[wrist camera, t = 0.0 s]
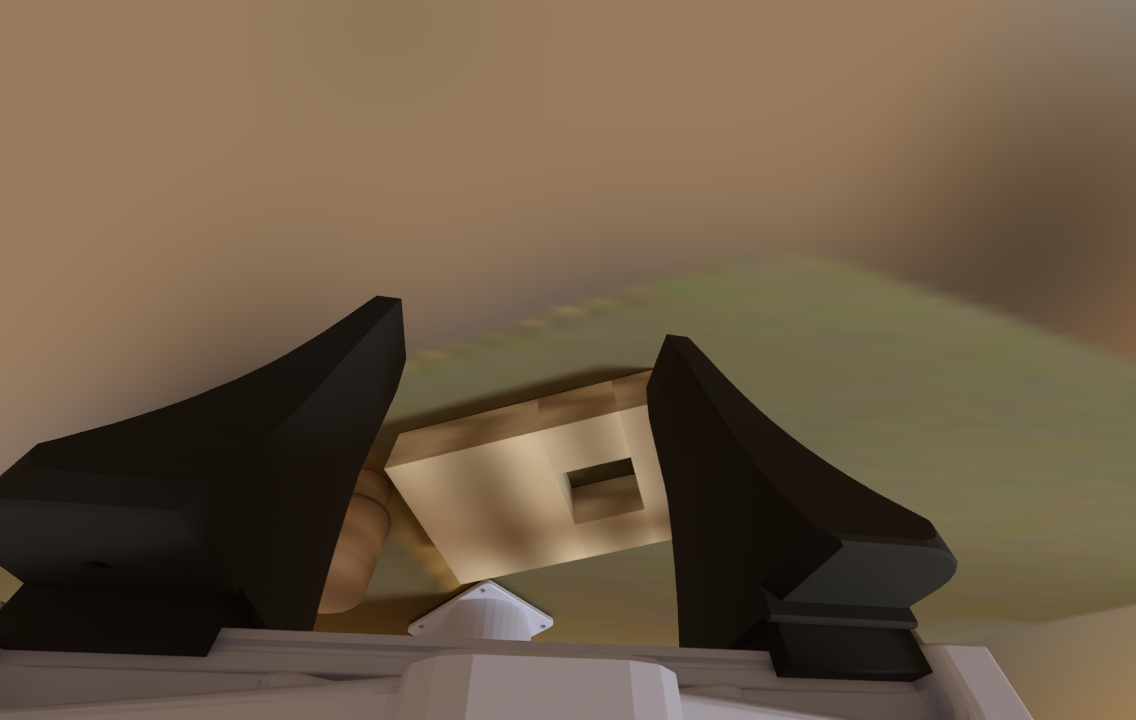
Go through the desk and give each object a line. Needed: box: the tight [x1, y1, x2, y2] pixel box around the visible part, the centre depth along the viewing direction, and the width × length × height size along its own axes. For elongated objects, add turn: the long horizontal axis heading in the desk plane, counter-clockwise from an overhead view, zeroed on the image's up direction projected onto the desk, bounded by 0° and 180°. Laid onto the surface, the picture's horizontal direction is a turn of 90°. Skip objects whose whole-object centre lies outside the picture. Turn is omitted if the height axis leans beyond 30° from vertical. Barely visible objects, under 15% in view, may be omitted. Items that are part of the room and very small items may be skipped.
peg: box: [318, 469, 391, 614], centre depth 26 cm, size 5×5×7 cm
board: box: [384, 370, 672, 584], centre depth 27 cm, size 16×11×3 cm
